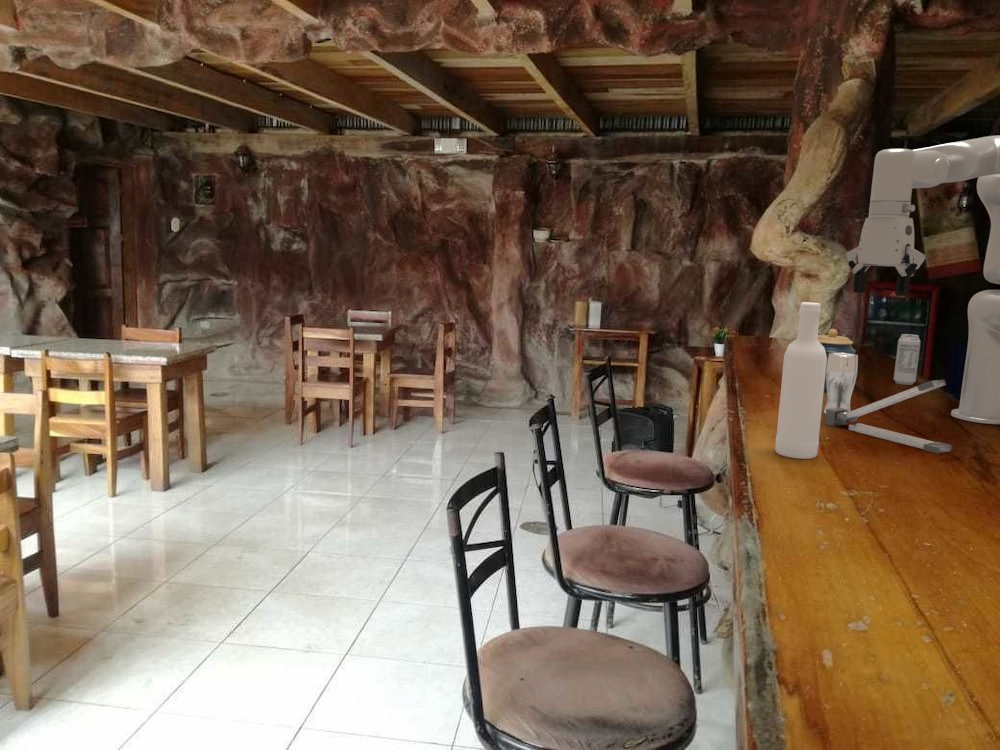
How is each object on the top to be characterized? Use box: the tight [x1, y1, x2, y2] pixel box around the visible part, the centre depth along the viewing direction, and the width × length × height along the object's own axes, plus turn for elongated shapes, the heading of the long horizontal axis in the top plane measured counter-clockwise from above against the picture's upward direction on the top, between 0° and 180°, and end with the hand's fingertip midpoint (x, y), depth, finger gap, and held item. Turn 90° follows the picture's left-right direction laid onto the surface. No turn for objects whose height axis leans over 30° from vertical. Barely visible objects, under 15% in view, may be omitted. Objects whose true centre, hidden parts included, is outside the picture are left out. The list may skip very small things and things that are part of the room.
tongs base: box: [824, 407, 953, 454], centre depth 168 cm, size 27×5×4 cm, turn 29°
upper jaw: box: [836, 379, 947, 423], centre depth 167 cm, size 24×5×2 cm, turn 29°
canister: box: [817, 328, 857, 393], centre depth 222 cm, size 13×13×18 cm
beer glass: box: [823, 352, 859, 415], centre depth 188 cm, size 7×7×15 cm
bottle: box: [775, 301, 827, 460], centre depth 150 cm, size 8×8×30 cm
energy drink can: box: [893, 333, 921, 386], centre depth 235 cm, size 6×6×15 cm
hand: (879, 294), depth 161 cm, fingers open, 9 cm apart
